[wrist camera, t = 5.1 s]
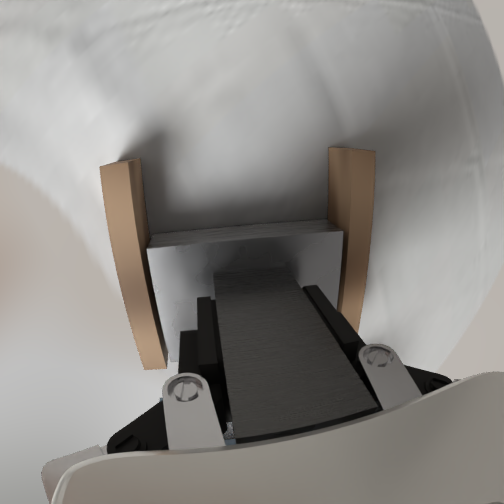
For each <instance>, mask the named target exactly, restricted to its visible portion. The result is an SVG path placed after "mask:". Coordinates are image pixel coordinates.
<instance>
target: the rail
mask: <svg viewBox="0 0 504 504" xmlns="http://www.w3.org/2000/svg"><path fill="white" fill-rule="evenodd" d="M328 149H329V178H328V221H330V222H331V223H333V224H334V225H335V226H337V227H338V228H340V229H341V230H343V245H342V259H341V271H340V282H339V292H338V301H337V312H341V313H342V314H343V316H344V317H345V318H346V319H347V321H348V322H349V323H350V325H351V326H352V327H353V329H354V330H355V331H356V332H357V334H358V329H359V324H360V318H361V312H362V306H363V299H364V292H365V285H366V278H367V270H368V262H369V253H370V243H371V232H372V220H373V205H374V186H375V151H371V150H362V149H354V148H332V147H328ZM100 175H101V184H102V192H103V199H104V206H105V212H106V219H107V225H108V230H109V236H110V241H111V247H112V252H113V257H114V261H115V266H116V271H117V275H118V279H119V284H120V288H121V292H122V296H123V300H124V304H125V307H126V311H127V315H128V318H129V322H130V326H131V329H132V332H133V336H134V339H135V342H136V346H137V349H138V352H139V355H140V358H141V361H142V364H143V367H144V370H152V369H167V360H168V349H167V345H166V341H165V337H164V333H163V329H162V325H161V320H160V316H159V311H158V307H157V302H156V297H155V292H154V287H153V282H152V277H151V272H150V266H149V260H148V255H147V247H148V245H149V242H150V236H149V229H148V222H147V214H146V206H145V198H144V189H143V180H142V170H141V159H140V158H139V159H132V160H125V161H118V162H114V163H110V164H107V165H103V166H100Z"/></svg>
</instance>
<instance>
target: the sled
mask: <svg viewBox="0 0 504 504" xmlns="http://www.w3.org/2000/svg"><path fill="white" fill-rule="evenodd" d="M342 245H343V230H341V229H340V228H338V227H337V226H335V225H334V224H333V223H331V222H330V221H328V220H327V219H321V220H307V221H293V222H280V223H267V224H255V225H243V226H232V227H221V228H210V229H199V230H189V231H179V232H169V233H159V234H153V236H152V238H151V240H150V242H149V245H148V247H147V255H148V260H149V266H150V272H151V277H152V282H153V287H154V292H155V297H156V302H157V307H158V311H159V316H160V320H161V325H162V329H163V333H164V337H165V341H166V345H167V349H168V353H169V357H170V361H171V362H178V361H179V345H180V332H181V331H187V330H197V297H207V296H211V300H214V299H215V300H216V308H217V316H218V324H219V332H220V339H221V347H222V354H223V361H224V369H225V376H226V384H227V391H228V398H229V405H230V411H231V418H232V425H233V431H234V437H235V442H236V444H243V443H250V442H257V441H263V440H269V439H275V438H280V437H286V436H291V435H296V434H300V433H305V432H309V431H314V430H318V429H322V428H326V427H330V426H334V425H337V424H341V423H345V422H348V421H352V420H355V419H358V418H361V417H365V416H368V415H371V414H374V413H375V412H376V409H377V407H378V406H377V404H376V403H375V401H374V399H373V398H372V396H371V395H370V393H369V392H368V390H367V388H366V387H365V385H364V384H363V382H362V380H361V379H360V377H359V376H358V374H357V373H356V371H355V369H354V368H353V366H352V365H351V363H350V362H349V360H348V359H347V357H346V355H345V354H344V352H343V351H342V349H341V348H340V346H339V345H338V343H337V342H336V340H335V338H334V337H333V335H332V334H331V332H330V331H329V329H328V328H327V326H326V325H325V323H324V322H323V320H322V319H321V317H320V315H319V314H318V312H317V311H316V309H315V308H314V306H313V305H312V303H311V302H310V300H309V299H308V297H307V296H306V294H305V293H304V291H303V290H302V287H303V286H309V285H317V286H318V287H319V288H320V289H321V291H322V292H323V293H324V295H325V296H326V297H327V299H328V300H329V301H330V302H331V304H332V305H333V306H334V308H335V309H336V310H337V301H338V292H339V282H340V271H341V259H342Z"/></svg>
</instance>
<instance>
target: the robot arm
mask: <svg viewBox="0 0 504 504" xmlns="http://www.w3.org/2000/svg"><path fill="white" fill-rule="evenodd" d="M302 290H303V291H304V293H305V294H306V296H307V297H308V299H309V300H310V302H311V303H312V305H313V306H314V308H315V309H316V311H317V312H318V314H319V315H320V317H321V319H322V320H323V322H324V323H325V325H326V326H327V328H328V329H329V331H330V332H331V334H332V335H333V337H334V338H335V340H336V342H337V343H338V345H339V346H340V348H341V349H342V351H343V352H344V354H345V355H346V357H347V359H348V360H349V362H350V363H351V365H352V366H353V368H354V369H355V371H356V373H357V374H358V376H359V377H360V379H361V380H362V382H363V384H364V385H365V387H366V388H367V390H368V392H369V393H370V395H371V396H372V398H373V399H374V401H375V403H376V404H377V406H378V407H377V409H376V412H375V413H374V414H371V415H368V416H365V417H361V418H358V419H355V420H352V421H348V422H345V423H341V424H337V425H334V426H330V427H326V428H322V429H318V430H314V431H309V432H305V433H300V434H296V435H291V436H286V437H280V438H275V439H269V440H263V441H257V442H250V443H243V444H235V445H225V441H224V438H223V434H224V433H225V432H226V431H228V430H227V424H226V422H232V418H231V411H230V405H229V398H228V391H227V384H226V376H225V369H224V361H223V354H222V347H221V339H220V332H219V324H218V316H217V308H216V300H215V299H214V300H211V296H207V297H197V330H187V331H181V332H180V345H179V368H178V374H177V375H174V376H173V377H171V378H169V379H168V380H167V381H166V382H165V384H164V385H163V389H162V394H163V400H162V401H160V402H159V403H157V404H156V405H155V406H153V407H152V408H151V409H149V410H148V411H147V412H145V413H144V414H142V415H141V416H140V417H138V418H137V419H136V420H134V421H133V422H131V423H130V424H128V425H127V426H125V427H124V428H122V429H121V430H119V431H118V432H117V433H115V434H114V435H113V436H112V437H111V438H110V439H109V441H108V444H107V445H106V446H103V447H100V446H99V445H96V446H94V447H90V448H87V449H85V450H82V451H79V452H76V453H73V454H70V455H67V456H63V457H60V458H57V459H54V460H51V461H49V462H47V463H46V465H45V466H44V467H43V469H42V472H41V476H42V481H43V485H44V488H45V491H46V495H47V498H48V500H49V504H504V372H486V373H481V374H477V375H473V376H470V377H467V378H464V379H460V380H458V379H454V381H453V382H452V381H451V379H449V378H448V377H446V376H443V375H440V374H437V373H433V372H429V371H425V370H421V369H417V368H414V367H410V366H406V365H403V363H402V361H401V360H400V358H399V357H398V355H397V354H396V352H395V351H394V350H393V349H391V348H390V347H388V346H386V345H383V344H369V345H366V344H365V343H364V342H363V340H362V339H361V338H360V336H359V335H358V334H357V332H356V331H355V330H354V329H353V327H352V326H351V325H350V323H349V322H348V321H347V319H346V318H345V317H344V316H343V314H342V313H341V312H337V310H336V309H335V308H334V306H333V305H332V304H331V302H330V301H329V300H328V299H327V297H326V296H325V295H324V293H323V292H322V291H321V289H320V288H319V287H318V286H317V285H309V286H303V287H302Z"/></svg>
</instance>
